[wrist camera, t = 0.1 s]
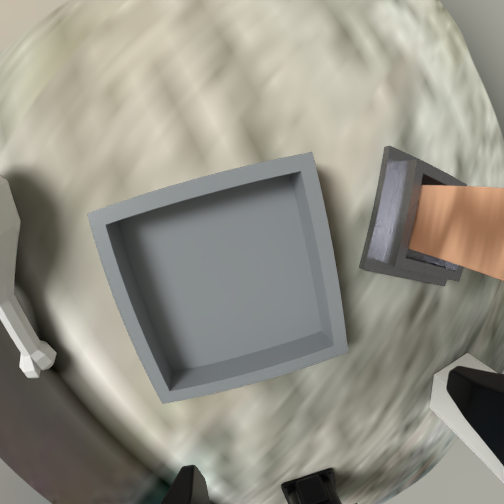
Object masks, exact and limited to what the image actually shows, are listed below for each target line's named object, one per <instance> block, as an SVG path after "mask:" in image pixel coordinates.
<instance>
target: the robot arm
mask: <svg viewBox="0 0 504 504" xmlns="http://www.w3.org/2000/svg"><path fill="white" fill-rule="evenodd" d="M446 389H447V392H448V394H449V395H450V397H451V398H452V400H453V401H454V403H455V404H456V406H457V407H458V409H459V410H460V412H461V413H462V415H463V416H464V418H465V419H466V420H467V422H468V423H469V424H470V425H471V427H472V428H473V429H474V430H475V431H476V433H477V434H478V435H479V436H480V438H481V439H482V440H483V441H484V442H485V444H486V445H487V446H488V447H489V449H490V450H491V451H492V452H493V454H494V455H495V456H496V457H497V459H498V460H499V461H500V462H501V464H502V465H503V466H504V374H499V373H494V372H489V371H483V370H478V369H473V368H468V367H464V366H456V367H455V368H453V369H452V370H450V372H449V374H448V380H447V385H446ZM281 488H282V491H283V493H284V495H285V498H286V500H287V502H288V504H342V503H341V501H340V499H339V497H338V495H337V493H336V491H335V490H336V489H335V481H334V472H333V470H332V469H327V470H325V471H322V472H319V473H316V474H313V475H310V476H307V477H304V478H300V479H297V480H294V481H290V482H287V483H284V484H282V485H281ZM161 504H210V501H209V496H208V491H207V485H206V481H205V478H204V477H203V475H202V474H201V472H200V471H199V470H198V468H197V467H196V466H195V465H189V466H183V467H182V468H181V469H180V471H179V473H178V475H177V476H176V478H175V480H174V482H173V483H172V485H171V487H170V489H169V490H168V492H167V494H166V495H165V497H164V499H163V501H162V502H161ZM356 504H357V503H356Z"/></svg>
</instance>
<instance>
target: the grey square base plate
mask: <svg viewBox="0 0 504 504" xmlns="http://www.w3.org/2000/svg"><path fill="white" fill-rule="evenodd" d="M421 185H443V186H467V185H466V184H465V183H463V182H461V181H459V180H458V179H456V178H454V177H452V176H450V175H449V174H447V173H445V172H443V171H441V170H439V169H437V168H435V167H434V166H432V165H430V164H428V163H426V162H424V161H422V160H420V159H417V158H415V157H413V156H411V155H409V154H407V153H405V152H403V151H400V150H398V149H396V148H394V147H391V146H387V147H385V148H384V154H383V160H382V166H381V172H380V177H379V182H378V188H377V193H376V198H375V202H374V207H373V212H372V216H371V221H370V225H369V230H368V234H367V238H366V242H365V246H364V250H363V254H362V258H361V261H360V265H359V268H361V269H363V270H368V271H373V272H378V273H382V274H387V275H392V276H397V277H402V278H407V279H412V280H417V281H422V282H427V283H432V284H437V285H442V286H445V284H446V280H447V279H450V280H454V281H459V280H460V277H461V273H462V270H463V266H460V265H457V264H454V263H451V262H448V261H445V260H442V259H439V258H436V257H433V256H430V255H427V254H424V253H421V252H418V251H414V250H411V249H408V246H409V242H410V238H411V234H412V229H413V225H414V220H415V215H416V210H417V205H418V200H419V194H420V189H421Z"/></svg>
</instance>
